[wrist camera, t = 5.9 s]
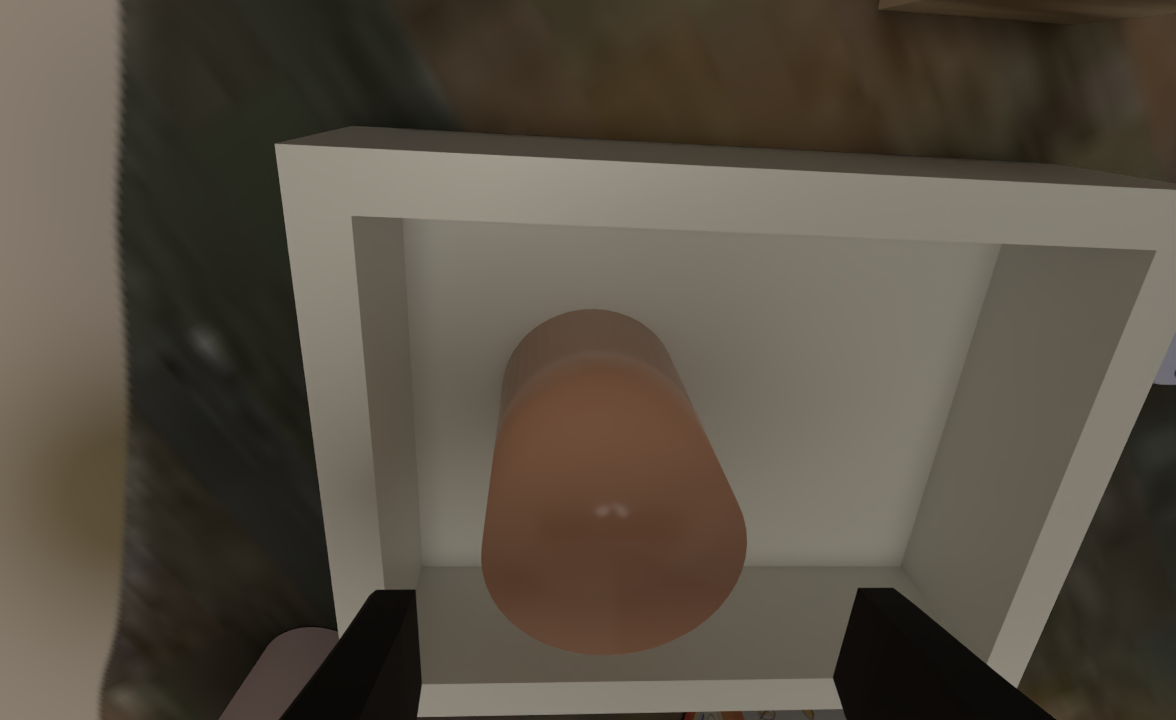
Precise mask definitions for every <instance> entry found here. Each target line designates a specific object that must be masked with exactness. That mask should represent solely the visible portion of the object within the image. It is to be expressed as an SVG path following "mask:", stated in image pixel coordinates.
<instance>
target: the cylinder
mask: <svg viewBox="0 0 1176 720" xmlns="http://www.w3.org/2000/svg"><path fill="white" fill-rule="evenodd" d="M746 549H747V532H746V526H745V521H744V517H743V514H742V512H741V509H740V507H739V504H738V502H737V500H736V498H735V495H734V493H733V491H732V489H731V487H730V485H729V482H728V480H727V478H726V476H725V474H724V472H723V469H722V467H721V465H720V463H719V461H718V459H717V456H716V454H715V452H714V450H713V448H712V446H711V444H710V441H709V439H708V437H707V435H706V433H705V431H704V428H703V426H702V424H701V422H700V420H699V418H698V415H697V413H696V411H695V409H694V407H693V405H692V403H691V400H690V398H689V396H688V394H687V392H686V390H685V387H684V385H683V383H682V381H681V379H680V377H679V374H678V372H677V370H676V368H675V366H674V364H673V361H672V359H671V357H670V355H669V353H668V351H667V350H666V348H665V346H664V345H663V343H662V342H661V341H660V340H659V338H658V337H657V336H656V335H655V334H654V333H653V332H652V331H651V330H650V329H649V328H647V327H646V326H644V325H643V324H642V323H640V322H638V321H637V320H635V319H633V318H631V317H629V316H626V315H623V314H620V313H617V312H612V311H608V310H599V309H584V310H577V311H571V312H567V313H564V314H560V315H558V316H555V317H553V318H551V319H548V320H547V321H545V322H543V323H542V324H540V325H538V326H537V327H536V328H534V329H533V330H532V331H531V332H529V333H528V334H527V335H526V336H525V337H524V338H523V339H522V340H521V342H520V343H519V344H518V346H517V347H516V348H515V350H514V351H513V353H512V355H511V357H510V359H509V361H508V364H507V366H506V369H505V373H504V378H503V384H502V392H501V399H500V407H499V415H498V423H497V430H496V438H495V446H494V454H493V461H492V469H491V477H490V484H489V492H488V500H487V508H486V515H485V523H484V531H483V539H482V549H481V564H482V573H483V576H484V580H485V584H486V587H487V589H488V591H489V593H490V595H491V598H492V599H493V601H494V602H495V604H496V605H497V607H498V608H499V610H500V611H501V612H502V613H503V614H504V615H505V616H506V618H507V619H508V620H509V621H510V622H512V623H513V624H514V625H515V626H516V627H518V628H519V629H520V630H521V631H523V632H525V633H526V634H528V635H529V636H531V637H532V638H534V639H536V640H538V641H541V642H543V643H545V644H547V645H550V646H553V647H555V648H558V649H562V650H566V651H570V652H574V653H581V654H588V655H621V654H628V653H635V652H640V651H644V650H648V649H652V648H655V647H658V646H661V645H663V644H666V643H669V642H671V641H673V640H675V639H677V638H679V637H681V636H683V635H685V634H687V633H688V632H690V631H692V630H693V629H695V628H696V627H698V626H699V625H700V624H702V623H703V622H704V621H706V620H707V619H708V618H709V617H710V616H711V615H712V614H713V613H714V612H715V611H716V610H717V609H719V608H720V606H721V605H722V604H723V603H724V601H725V600H726V599H727V598H728V596H729V595H730V593H731V592H732V590H733V588H734V587H735V585H736V583H737V581H738V579H739V576H740V574H741V572H742V569H743V565H744V561H745V558H746Z"/></svg>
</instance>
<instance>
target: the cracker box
mask: <svg viewBox="0 0 1176 720" xmlns="http://www.w3.org/2000/svg"><path fill="white" fill-rule="evenodd" d="M684 720H847V719H846V717H845V714H844V711H843V709H815V710H762V711H709V712H686V714H685V717H684Z"/></svg>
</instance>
